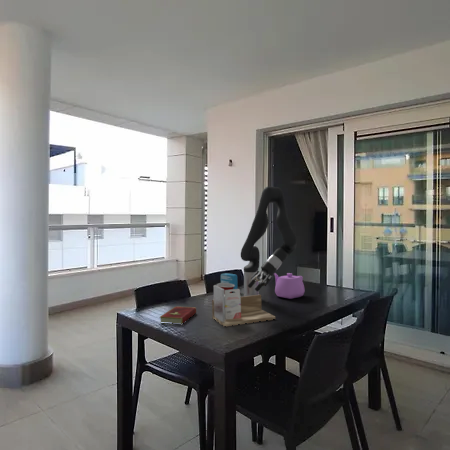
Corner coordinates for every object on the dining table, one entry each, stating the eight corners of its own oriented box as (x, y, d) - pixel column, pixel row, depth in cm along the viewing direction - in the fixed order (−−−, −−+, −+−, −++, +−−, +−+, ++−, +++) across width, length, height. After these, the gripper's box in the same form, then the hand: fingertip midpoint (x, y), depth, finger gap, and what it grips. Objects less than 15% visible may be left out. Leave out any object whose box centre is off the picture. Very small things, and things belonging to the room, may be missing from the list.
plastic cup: (233, 306, 211) (232, 285, 210) (215, 305, 213) (214, 285, 212) (236, 302, 221) (236, 282, 221) (219, 301, 223) (218, 282, 223)
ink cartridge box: (237, 315, 186) (237, 287, 185) (241, 318, 181) (240, 288, 181) (221, 317, 183) (221, 288, 183) (225, 319, 178) (224, 290, 178)
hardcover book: (196, 314, 196) (196, 306, 196) (182, 326, 176) (182, 317, 176) (175, 313, 199) (175, 305, 199) (159, 324, 179) (159, 316, 179)
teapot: (312, 295, 235) (312, 272, 234) (291, 301, 221) (290, 276, 221) (285, 290, 252) (285, 269, 252) (264, 295, 239) (263, 272, 239)
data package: (220, 290, 256) (220, 273, 256) (224, 289, 259) (224, 273, 259) (233, 292, 248) (233, 275, 248) (237, 291, 251) (237, 274, 251)
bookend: (214, 316, 185) (213, 285, 185) (215, 316, 186) (215, 285, 185) (222, 322, 174) (222, 289, 174) (224, 322, 174) (224, 289, 174)
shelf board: (212, 318, 187) (212, 300, 187) (260, 311, 198) (260, 294, 197) (224, 326, 172) (223, 307, 172) (275, 319, 183) (275, 300, 183)
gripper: (260, 259, 198) (241, 281, 194) (273, 262, 185) (253, 286, 181) (269, 268, 200) (250, 290, 197) (282, 272, 187) (263, 296, 183)
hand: (252, 288), depth 189 cm, fingers open, 8 cm apart
